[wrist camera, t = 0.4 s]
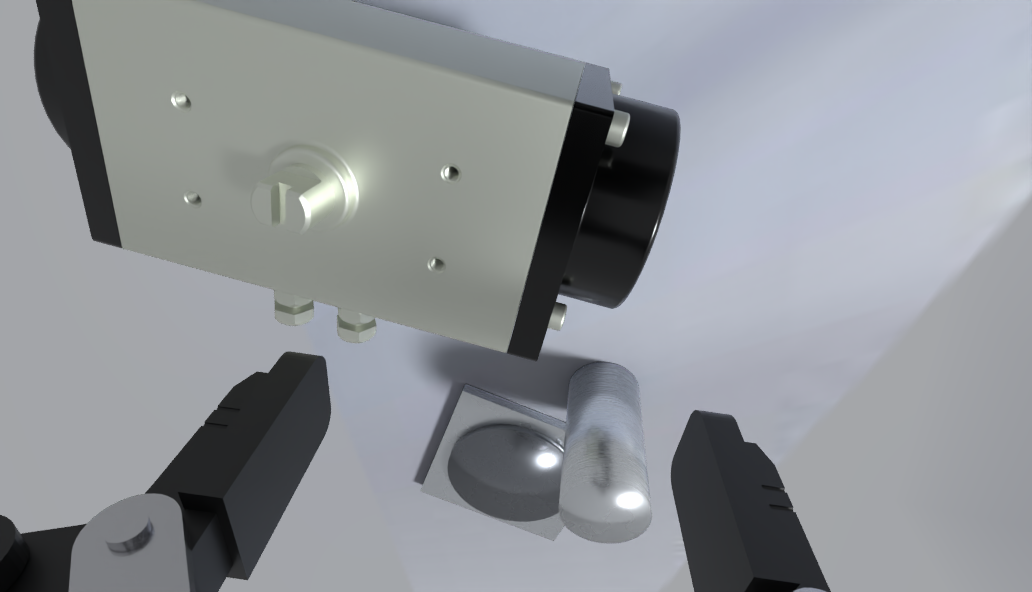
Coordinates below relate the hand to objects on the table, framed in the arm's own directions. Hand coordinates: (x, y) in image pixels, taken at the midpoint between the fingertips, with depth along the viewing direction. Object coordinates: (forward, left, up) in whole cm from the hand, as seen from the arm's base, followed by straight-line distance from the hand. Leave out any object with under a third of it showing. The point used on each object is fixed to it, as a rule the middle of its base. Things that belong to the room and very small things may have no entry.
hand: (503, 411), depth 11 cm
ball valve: (-1, -6, -20) cm, 21 cm away
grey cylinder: (+13, +9, -20) cm, 25 cm away
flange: (+23, +6, -20) cm, 31 cm away
